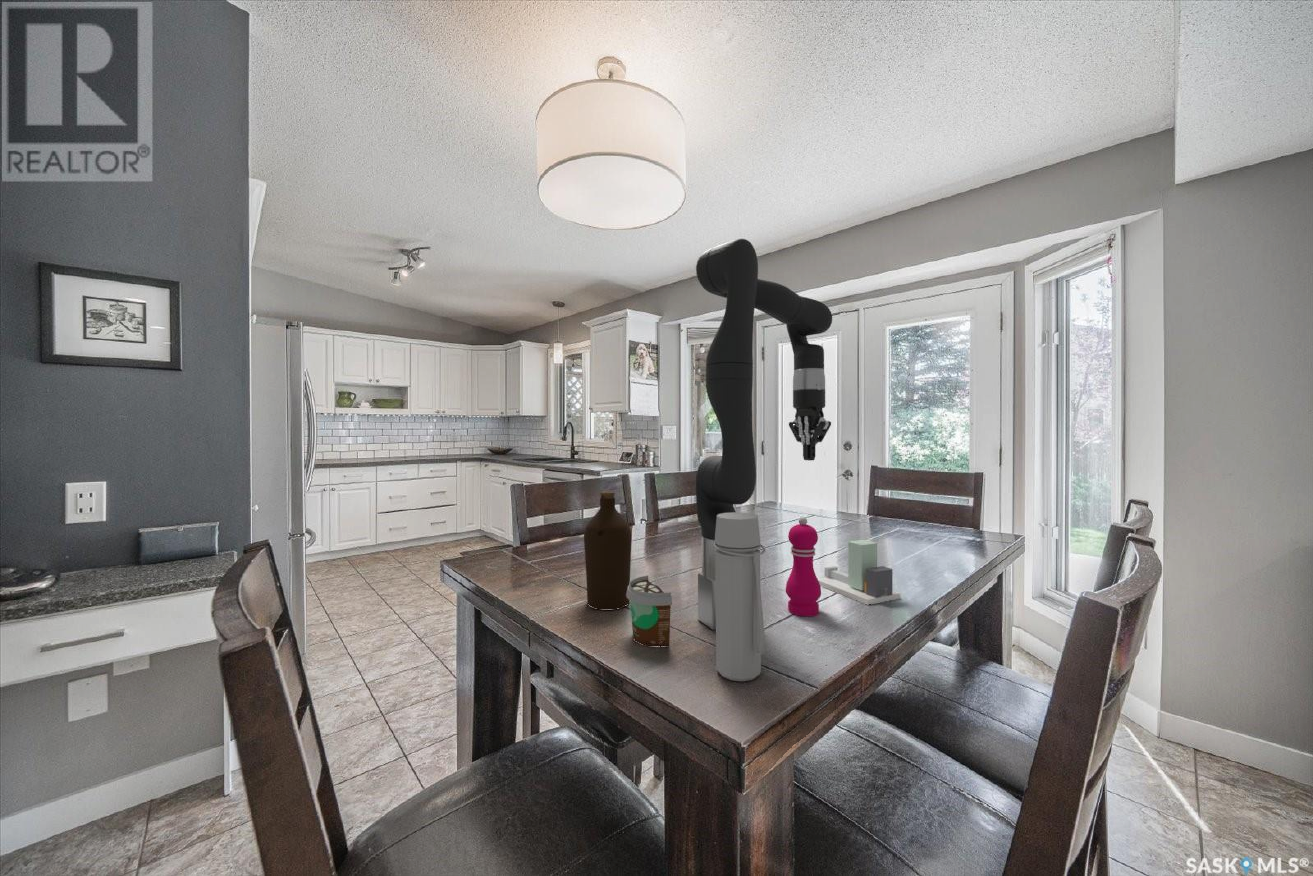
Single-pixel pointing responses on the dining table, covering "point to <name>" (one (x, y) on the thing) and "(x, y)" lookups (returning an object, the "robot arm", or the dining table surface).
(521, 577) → the dining table surface
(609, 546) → the olive oil
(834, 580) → the rail base
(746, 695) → the dining table surface
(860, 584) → the sleeve
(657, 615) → the food container
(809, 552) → the pepper mill
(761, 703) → the dining table surface
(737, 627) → the water bottle
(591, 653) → the dining table surface
